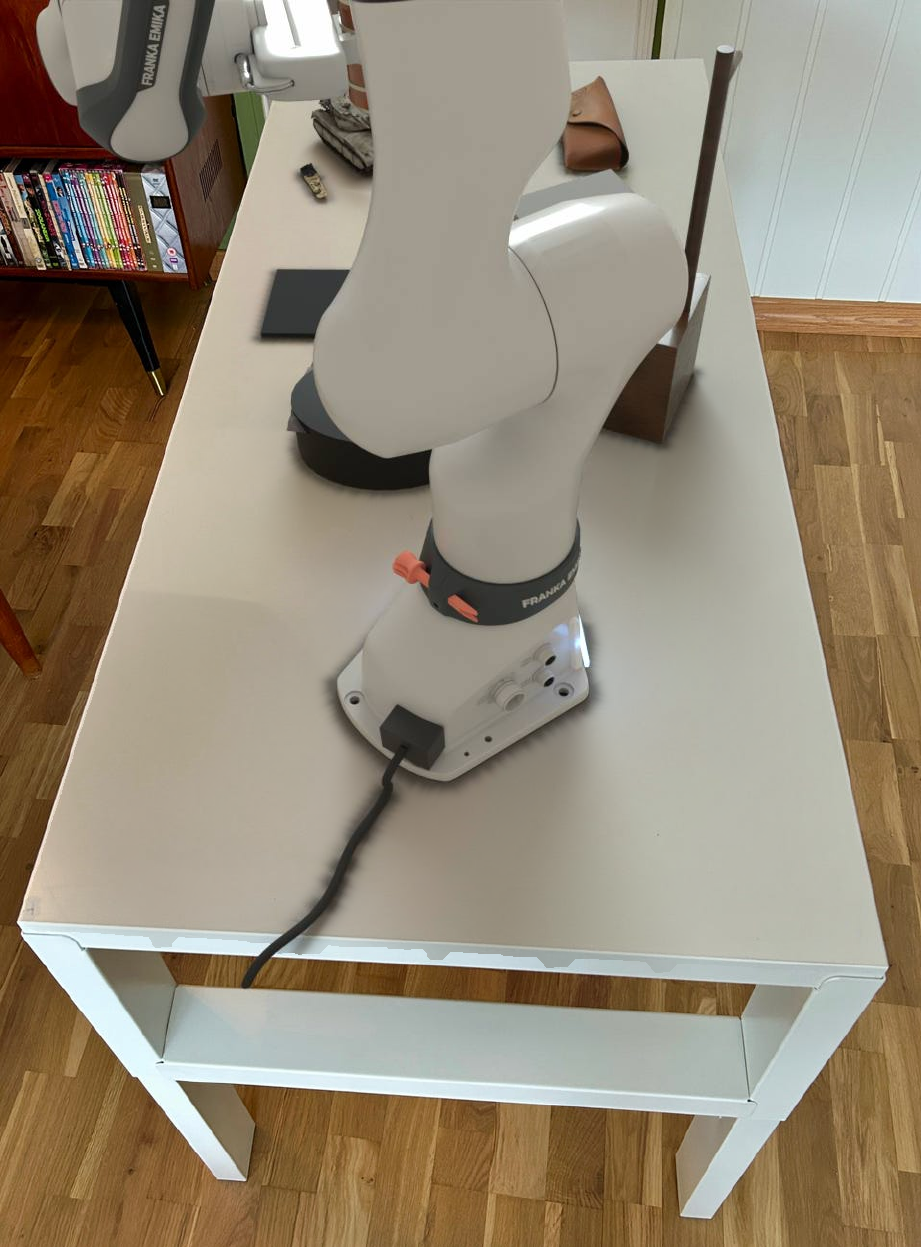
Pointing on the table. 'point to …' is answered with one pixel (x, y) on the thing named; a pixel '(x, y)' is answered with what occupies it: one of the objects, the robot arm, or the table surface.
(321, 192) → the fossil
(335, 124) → the toy tank
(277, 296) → the rubber mat
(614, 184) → the grey rectangular block
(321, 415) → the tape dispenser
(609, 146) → the sunglasses case
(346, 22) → the brown banded bottle
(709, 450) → the table surface
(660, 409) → the hanger rack
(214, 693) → the table surface
